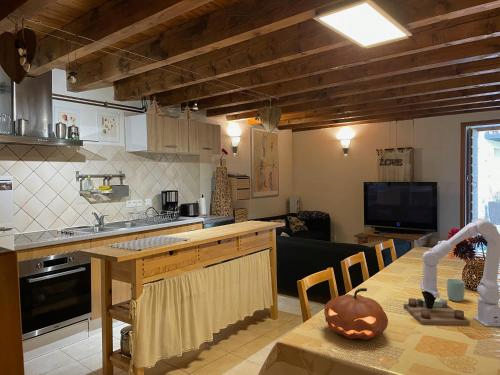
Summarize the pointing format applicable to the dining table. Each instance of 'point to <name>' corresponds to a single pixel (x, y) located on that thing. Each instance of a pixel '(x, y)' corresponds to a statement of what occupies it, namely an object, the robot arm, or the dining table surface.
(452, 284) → the cup
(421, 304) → the swing leg
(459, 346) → the dining table surface
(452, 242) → the robot arm
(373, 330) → the pumpkin
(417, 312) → the stool seat
